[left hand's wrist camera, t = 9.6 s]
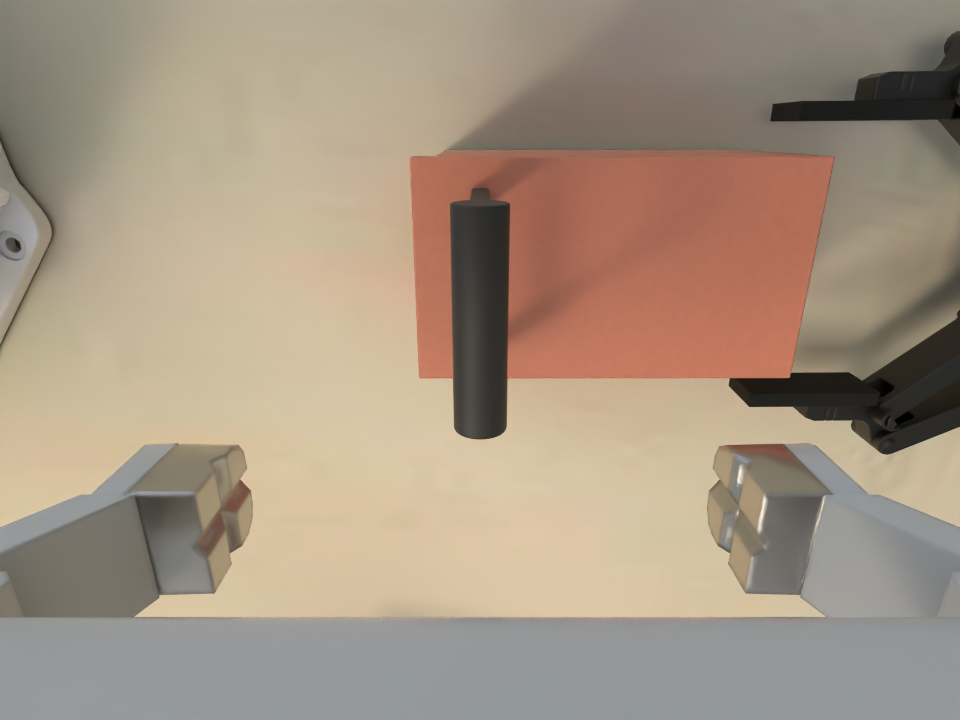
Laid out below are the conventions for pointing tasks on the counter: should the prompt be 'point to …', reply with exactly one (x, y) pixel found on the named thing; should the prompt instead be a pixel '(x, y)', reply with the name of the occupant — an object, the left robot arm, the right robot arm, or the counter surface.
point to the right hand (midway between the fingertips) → (759, 262)
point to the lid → (609, 269)
